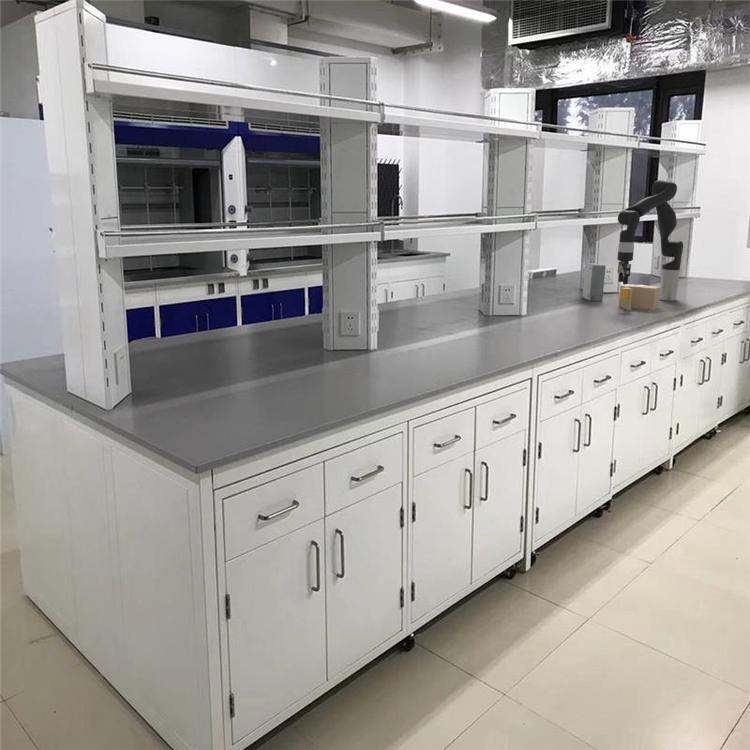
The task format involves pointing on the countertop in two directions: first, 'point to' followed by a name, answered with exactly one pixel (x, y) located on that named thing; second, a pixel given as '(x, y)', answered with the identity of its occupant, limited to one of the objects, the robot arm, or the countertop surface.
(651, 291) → the carton
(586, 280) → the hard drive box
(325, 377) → the countertop surface
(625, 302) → the flap
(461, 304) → the countertop surface
